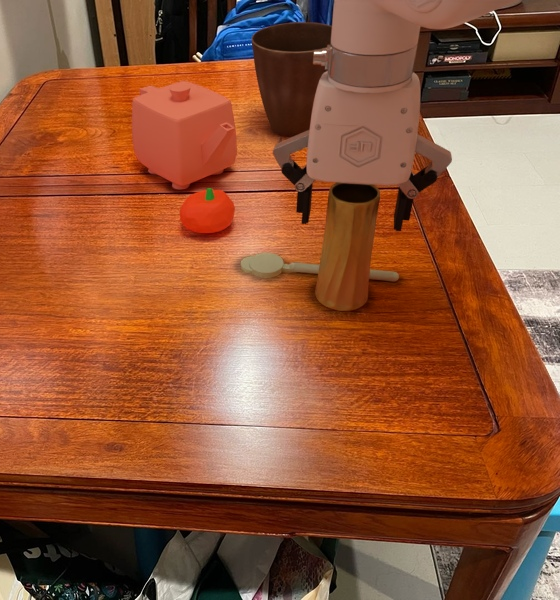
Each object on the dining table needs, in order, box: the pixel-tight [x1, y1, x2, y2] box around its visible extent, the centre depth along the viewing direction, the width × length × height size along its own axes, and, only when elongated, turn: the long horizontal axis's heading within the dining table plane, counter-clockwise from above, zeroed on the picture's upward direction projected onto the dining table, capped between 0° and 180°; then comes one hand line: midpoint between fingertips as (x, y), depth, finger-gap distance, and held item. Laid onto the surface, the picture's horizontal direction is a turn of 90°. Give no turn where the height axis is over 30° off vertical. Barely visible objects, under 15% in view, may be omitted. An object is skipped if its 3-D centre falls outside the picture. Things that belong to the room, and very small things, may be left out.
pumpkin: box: [179, 187, 236, 234], centre depth 86 cm, size 7×8×6 cm
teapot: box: [131, 80, 238, 190], centre depth 97 cm, size 22×13×14 cm, turn 35°
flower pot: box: [251, 21, 332, 138], centre depth 106 cm, size 15×15×16 cm
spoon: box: [240, 252, 400, 282], centre depth 78 cm, size 19×4×1 cm, turn 74°
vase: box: [314, 183, 381, 312], centre depth 70 cm, size 6×6×14 cm
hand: (350, 220), depth 68 cm, fingers open, 9 cm apart
